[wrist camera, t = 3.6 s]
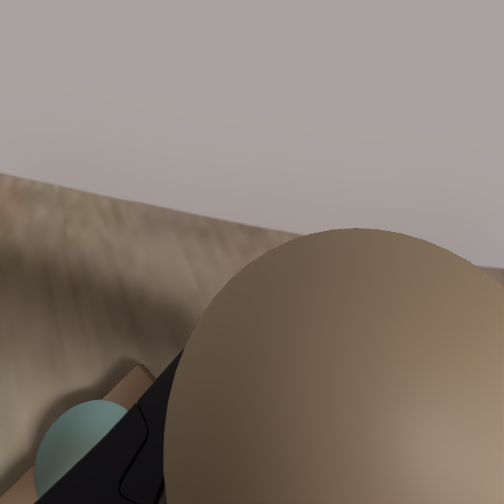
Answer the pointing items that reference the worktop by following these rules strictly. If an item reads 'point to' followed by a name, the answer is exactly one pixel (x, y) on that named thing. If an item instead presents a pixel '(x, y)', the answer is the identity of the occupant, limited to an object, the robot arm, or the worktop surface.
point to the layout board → (77, 436)
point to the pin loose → (343, 379)
